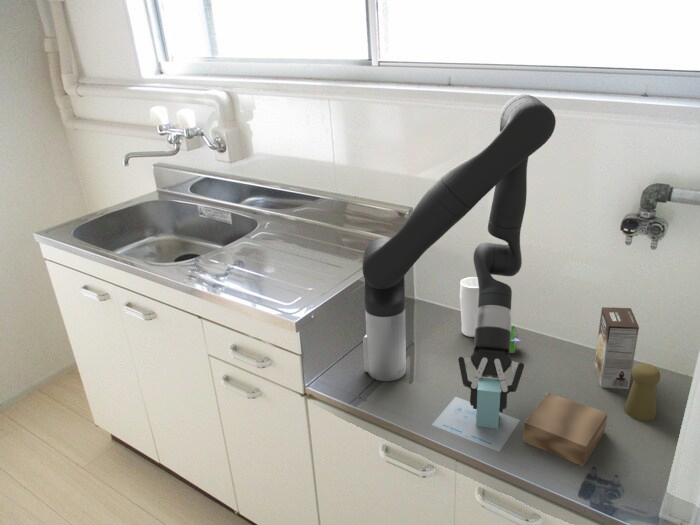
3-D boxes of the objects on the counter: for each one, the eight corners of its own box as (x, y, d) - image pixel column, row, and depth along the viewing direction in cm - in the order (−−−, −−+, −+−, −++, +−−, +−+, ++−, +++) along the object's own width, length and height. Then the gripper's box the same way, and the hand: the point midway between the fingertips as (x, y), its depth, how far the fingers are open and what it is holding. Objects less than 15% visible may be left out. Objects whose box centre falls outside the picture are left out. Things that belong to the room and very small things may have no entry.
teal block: (476, 425, 124) (477, 389, 120) (477, 412, 128) (478, 377, 124) (498, 428, 122) (500, 392, 119) (498, 415, 126) (501, 379, 123)
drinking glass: (465, 341, 155) (467, 289, 149) (454, 329, 161) (455, 279, 155) (489, 336, 156) (491, 285, 150) (477, 324, 162) (479, 275, 156)
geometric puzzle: (488, 333, 154) (492, 320, 147) (515, 332, 153) (520, 319, 146) (491, 359, 150) (496, 347, 143) (519, 358, 150) (525, 346, 143)
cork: (629, 399, 129) (636, 356, 125) (659, 409, 125) (667, 365, 121) (620, 413, 125) (627, 369, 120) (651, 424, 121) (659, 379, 117)
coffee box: (593, 365, 142) (600, 305, 135) (621, 367, 140) (630, 307, 134) (600, 388, 133) (608, 325, 127) (630, 390, 132) (640, 327, 126)
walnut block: (522, 442, 119) (524, 422, 117) (546, 412, 127) (548, 392, 125) (583, 467, 111) (586, 446, 109) (604, 433, 120) (607, 413, 118)
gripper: (458, 322, 126) (451, 403, 120) (528, 327, 122) (525, 411, 116) (460, 331, 133) (453, 408, 127) (526, 337, 129) (523, 416, 123)
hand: (487, 409), depth 122 cm, fingers open, 4 cm apart
